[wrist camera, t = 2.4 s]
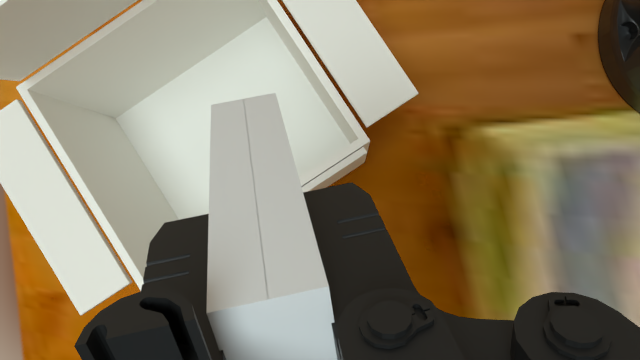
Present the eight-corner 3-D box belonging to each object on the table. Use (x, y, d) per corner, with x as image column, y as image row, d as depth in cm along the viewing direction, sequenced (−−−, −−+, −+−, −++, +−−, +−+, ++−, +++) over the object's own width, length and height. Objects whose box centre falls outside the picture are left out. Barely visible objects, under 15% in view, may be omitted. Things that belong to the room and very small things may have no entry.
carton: (307, -15, 42) (287, -101, 30) (408, 136, 41) (430, 110, 29) (74, 142, 43) (-37, 121, 31) (167, 293, 42) (90, 332, 30)
